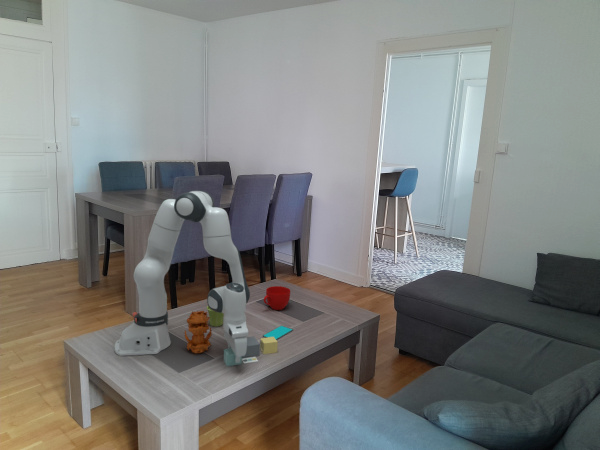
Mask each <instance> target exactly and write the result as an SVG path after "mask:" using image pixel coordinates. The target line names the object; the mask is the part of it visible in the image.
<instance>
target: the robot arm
mask: <svg viewBox="0 0 600 450" xmlns="http://www.w3.org/2000/svg"><path fill="white" fill-rule="evenodd" d="M185 220H186V221H190V222H193V223H200V225H201V227H202V228H201V229H202V242H203V247H204V250H205V251H206V253H208V255H210V256H212V257H215V258H216V259H217V258H218V259H221V260H224V261H226V262H227V264H228V265H229V270H230V275H231V278H232V279H231V280H232V282H229V283H226V285H224V286H218V287H214V288H212V289H210V291H209V292H208V294H207V298H206V299H207V301H206V303H207V306H209V308H210V309H212V310H213V311H215V312H219V313H221V312H222V313H223V314H224V317H223V327H222V329H223V336H224V339H225V340H226V342H227V347H228V348H227V349H229V348H232V350H233V352H234V353H235V355H236V356H235V362H236V363H239V362H240V358H241V356H245V354H246V349H247V337H249V329H248V326H247V315H246V309H247V304H248V302H249V300H250V298H251V297H250V296H251V292H250V288H249V286H248V283H247V279H246V274H245V270H244V265H243V259H242V257H241V253H240V250H239V248H238V246H236V245H235V244H234V241H233V240H232V232H231V225H230V219H229V215H228V213H227V211H226V210H225V209H224V208H221V207H215V199H214V197H213V196H212V195H211V194H210V193H209V192H207V191H205V190H192V191H189V192H188V191H187V192H183V193H181V194H180V195H178V196H177V198H176V199H173V198H168V199H166V200H165V199H164V201H163V202H162V203H161V204H160V206H159V208H158V210H157V212H156V215H155V217H154V220H153V222H152V225H151V228H150V232H149V234H148V237H147V246H146V251H145V254H144V257H143V258H142V260H141V261H140V262H139V263H138V264H137V265H136V266H135V269H134V272H133V280H134V282H135V284H136V288H137V289H136V290H137V293H138V306H139V307H138V311H139V312H137V311H135V312H132V318H133V320H134V321H133V322H132V323H131V324H130V325H128V326H126V328H124V329H123V330H122V332H121V334H120V338H119V339H118V340H116V342H115V343H114V352H115V354H117V356H120V357H123V356H139V355H140V356H141V355H143V356H145V355H156V354H157V355H158V354H159V353H160V352H162V351H164V350H165V349H167V348H168V347H169V346H170V345H171V344H172V340H171V338H170V334H169V328H168V324H169V313H168V310H167V309H168V304H167V302H168V298H167V296H168V294H167V292H166V288H165V276H166V275H167V273H168V272H169V270H170V267H171V265H172V263H171V262H172V259H173V255H174V253H175V248H176V244H177V241H178V238H179V236H180V233H181V229H182V227H183V224H184V222H185Z"/></svg>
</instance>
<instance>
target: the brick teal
mask: <svg viewBox="0 0 600 450" xmlns="http://www.w3.org/2000/svg"><path fill="white" fill-rule="evenodd" d="M235 356H236V355H235V353H234V352H233V350H232V348H229V349H228V348H224V349H223V362H224V364H225V366H226V367H231V366H237V365H242V363H243V361H242V359H243V358H242V356H241V358H240V362H239V363H236V362H235Z"/></svg>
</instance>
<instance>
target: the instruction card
mask: <svg viewBox="0 0 600 450" xmlns="http://www.w3.org/2000/svg"><path fill="white" fill-rule="evenodd" d="M256 362H259V360H258V358H257V356H253V357H247V358H242V363H243V364H250V363H256Z"/></svg>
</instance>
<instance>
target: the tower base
mask: <svg viewBox="0 0 600 450" xmlns="http://www.w3.org/2000/svg"><path fill="white" fill-rule="evenodd" d="M260 355H261V350H260V341H258V340H257V338H256V337H255V336H247V349H246V354H245V356H242V359H243V358H249V357H259V356H260Z"/></svg>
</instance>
